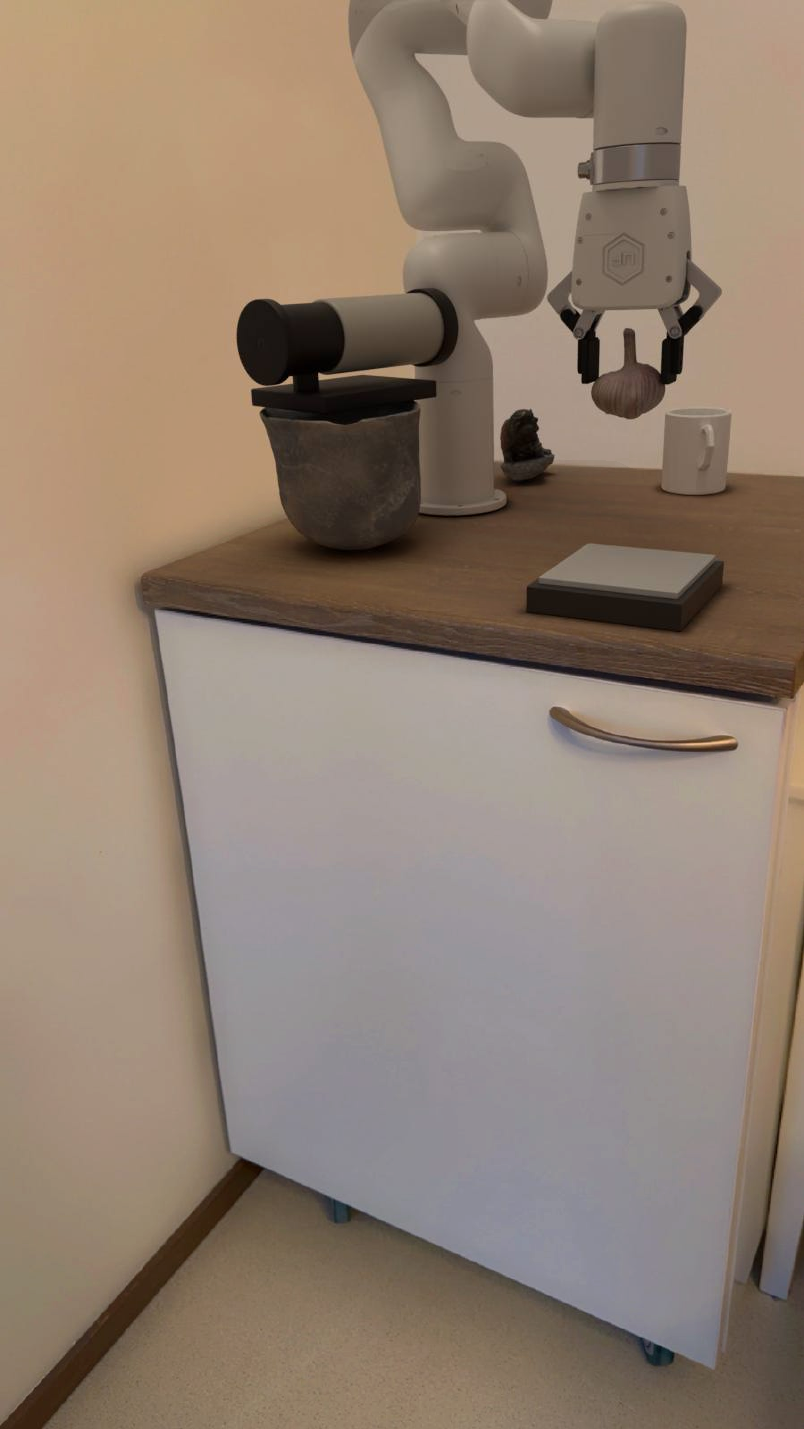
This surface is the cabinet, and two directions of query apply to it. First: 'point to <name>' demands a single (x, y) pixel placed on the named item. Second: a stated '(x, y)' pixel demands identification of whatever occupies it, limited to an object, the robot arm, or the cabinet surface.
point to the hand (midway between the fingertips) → (628, 381)
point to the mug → (696, 450)
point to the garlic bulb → (628, 385)
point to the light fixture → (344, 349)
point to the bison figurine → (523, 447)
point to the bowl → (348, 472)
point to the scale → (628, 586)
